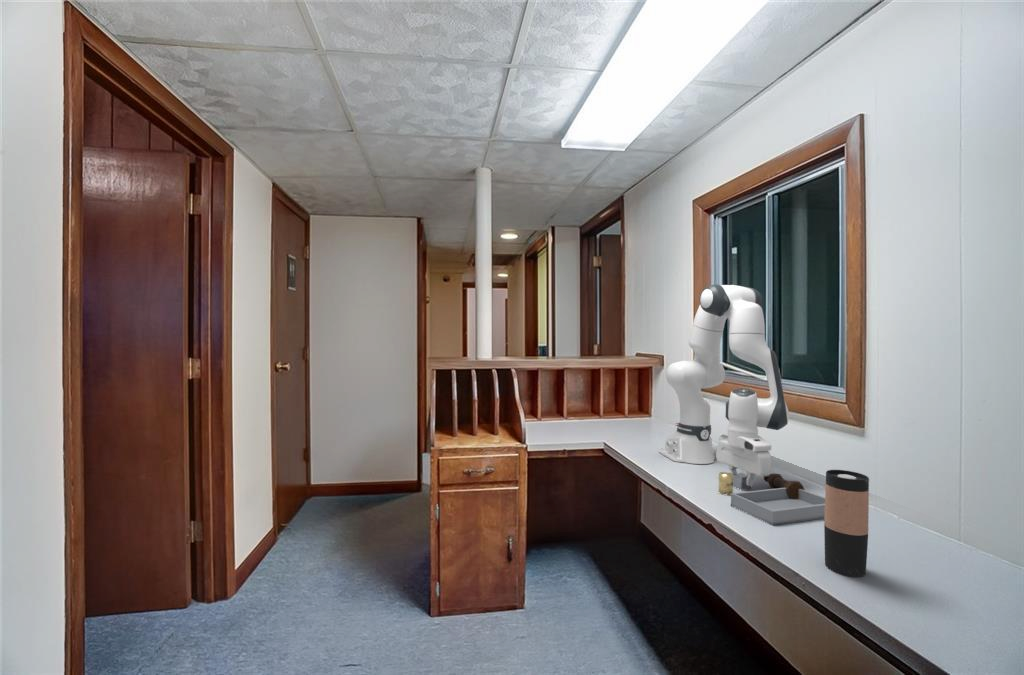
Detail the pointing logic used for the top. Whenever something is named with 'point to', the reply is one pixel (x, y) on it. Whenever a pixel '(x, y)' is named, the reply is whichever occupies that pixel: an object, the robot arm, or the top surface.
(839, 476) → the travel mug
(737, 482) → the steel block
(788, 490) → the bolt
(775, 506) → the parts tray
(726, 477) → the brass cylinder
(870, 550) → the top surface
